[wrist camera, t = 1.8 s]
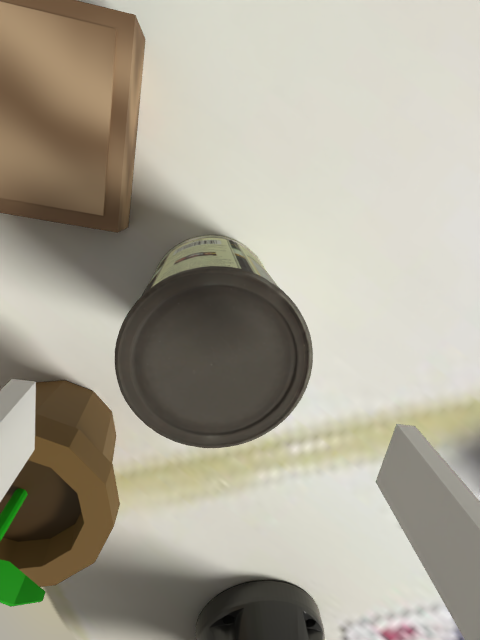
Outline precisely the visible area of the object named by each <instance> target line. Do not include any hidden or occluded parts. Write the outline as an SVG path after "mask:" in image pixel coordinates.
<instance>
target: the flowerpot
mask: <svg viewBox="0 0 480 640" xmlns="http://www.w3.org/2000/svg"><path fill="white" fill-rule="evenodd" d="M115 440H116V432H115V426H114V420H113V415H112V411H111V410H110V409H109V408H108V407H107V406H106V405H105V404H104V402H103V401H102V400H101V399H100V398H99V397H98V396H97V395H96V394H95V392H94V391H91V390H89V389H86V388H84V387H81V386H79V385H76V384H73V383H71V382H68V381H66V380H61V381H48V382H36V402H35V450H34V451H33V453H32V454H31V456H30V457H29V459H28V460H27V462H26V463H25V465H24V467H23V468H22V470H21V471H20V473H19V474H18V476H17V477H16V479H15V480H14V482H13V483H12V485H11V486H10V488H9V490H8V491H7V493H6V494H5V496H4V497H3V499H2V500H1V502H0V602H1V603H3V604H6V605H8V606H17V605H23V604H30V603H35V602H41V601H42V600H43V598H44V595H45V591H44V590H43V589H42V588H40V587H43V586H52V585H56V584H58V583H60V582H62V581H63V580H65V579H67V578H68V577H70V576H72V575H74V574H75V573H77V572H79V571H81V570H82V569H84V568H86V567H88V566H89V565H91V564H93V563H94V562H95V561H96V559H97V557H98V555H99V553H100V551H101V550H102V548H103V546H104V544H105V542H106V540H107V538H108V536H109V534H110V532H111V531H112V529H113V527H114V524H115V520H116V516H117V513H118V509H119V505H120V502H119V497H118V492H117V486H116V481H115V475H114V470H113V464H112V460H113V454H114V447H115Z"/></svg>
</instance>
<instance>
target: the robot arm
mask: <svg viewBox="0 0 480 640" xmlns="http://www.w3.org/2000/svg"><path fill="white" fill-rule="evenodd" d="M35 402H36V382H35V381H26V380H18V379H11V380H10V381H9V382H8V383H7V384H6V385H5V386H4V387H3V388H2V389H1V390H0V502H1V500H2V499H3V497H4V496H5V494H6V493H7V491H8V490H9V488H10V486H11V485H12V483H13V482H14V480H15V479H16V477H17V476H18V474H19V473H20V471H21V470H22V468H23V467H24V465H25V463H26V462H27V460H28V459H29V457H30V456H31V454H32V453H33V451H34V450H35ZM376 483H377V485H378V487H379V488H380V490H381V492H382V494H383V496H384V497H385V499H386V501H387V503H388V504H389V506H390V508H391V510H392V511H393V513H394V515H395V517H396V519H397V520H398V522H399V524H400V526H401V527H402V529H403V531H404V533H405V534H406V536H407V538H408V540H409V542H410V543H411V545H412V547H413V549H414V550H415V552H416V554H417V556H418V557H419V559H420V561H421V563H422V565H423V566H424V568H425V570H426V572H427V573H428V575H429V577H430V579H431V580H432V582H433V584H434V586H435V588H436V589H437V591H438V593H439V595H440V596H441V598H442V600H443V602H444V603H445V605H446V607H447V609H448V611H449V612H450V614H451V616H452V618H453V619H454V621H455V623H456V625H457V626H458V628H459V630H460V632H461V634H462V635H463V637H464V639H465V640H480V501H479V500H478V499H477V498H476V497H475V495H474V494H473V493H472V492H471V491H470V490H469V488H468V487H467V486H466V485H465V484H464V483H463V481H462V480H461V479H460V478H459V477H458V476H457V474H456V473H455V472H454V471H453V470H452V469H451V467H450V466H449V465H448V464H447V463H446V462H445V460H444V459H443V458H442V457H441V456H440V455H439V453H438V452H437V451H436V450H435V449H434V448H433V446H432V445H431V444H430V443H429V442H428V441H427V439H426V438H425V437H424V436H423V435H422V434H421V432H420V431H419V430H418V429H417V428H416V427H415V426H410V425H401V424H396V427H395V430H394V433H393V435H392V438H391V441H390V444H389V446H388V449H387V452H386V455H385V458H384V460H383V463H382V466H381V469H380V471H379V474H378V477H377V480H376ZM196 640H325V637H324V628H323V624H322V620H321V617H320V613H319V609H318V607H317V605H316V603H315V601H314V600H313V599H312V597H311V596H310V595H309V594H307V593H306V592H305V591H303V590H302V589H300V588H298V587H296V586H293V585H291V584H287V583H283V582H277V581H255V582H249V583H245V584H241V585H238V586H235V587H232V588H230V589H228V590H226V591H224V592H222V593H221V594H219V595H218V596H216V597H215V598H214V599H212V600H211V601H210V602H209V603H208V604H207V605H206V606H205V608H204V609H203V610H202V612H201V614H200V616H199V618H198V620H197V624H196Z"/></svg>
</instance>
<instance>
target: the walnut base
mask: <svg viewBox="0 0 480 640" xmlns="http://www.w3.org/2000/svg"><path fill="white" fill-rule="evenodd" d="M144 48H145V37H144V35H143V32H142V30H141V27H140V25H139V23H138V20H137V18H136V15H133V14H129V13H125V12H121V11H117V10H113V9H109V8H105V7H101V6H97V5H93V4H88V3H84V2H80V1H76V0H0V213H5V214H11V215H17V216H23V217H28V218H34V219H40V220H46V221H52V222H58V223H64V224H69V225H75V226H81V227H87V228H93V229H99V230H105V231H111V232H116V233H118V232H120V231H122V230H124V229H126V228H128V225H129V214H130V203H131V192H132V181H133V170H134V159H135V148H136V137H137V126H138V115H139V104H140V93H141V81H142V70H143V59H144Z"/></svg>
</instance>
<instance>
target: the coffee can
mask: <svg viewBox="0 0 480 640" xmlns="http://www.w3.org/2000/svg"><path fill="white" fill-rule="evenodd" d="M312 363H313V351H312V342H311V337H310V333H309V330H308V327H307V325H306V322H305V320H304V318H303V316H302V315H301V313H300V311H299V309H298V308H297V307H296V305H295V304H294V303H293V301H292V300H291V299H290V298H289V297H288V296H287V295H286V294H285V293H284V292H283V291H282V290H281V289H280V288H279V287H278V286H277V285H276V283H275V282H274V281H273V279H272V278H271V276H270V275H269V274H268V273H267V271H266V270H265V268H264V266H263V265H262V263H261V262H260V260H259V259H258V257H257V256H256V255H255V254H254V253H253V252H252V251H251V250H250V249H249V248H247V247H246V246H245V245H243V244H242V243H240V242H238V241H236V240H233V239H231V238H227V237H224V236H217V235H206V236H199V237H195V238H191V239H189V240H186V241H184V242H182V243H180V244H178V245H177V246H175V247H174V248H173V249H171V250H170V251H169V252H168V253H167V254H166V255H165V257H164V258H163V259H162V260H161V262H160V263H159V265H158V267H157V269H156V271H155V274H154V276H153V278H152V279H151V281H150V283H149V284H148V286H147V288H146V289H145V291H144V293H143V294H142V296H141V298H140V299H139V300H138V301H137V302H136V303H135V305H134V306H133V307H132V309H131V310H130V311H129V313H128V314H127V316H126V318H125V320H124V322H123V324H122V326H121V329H120V331H119V335H118V338H117V342H116V348H115V370H116V375H117V380H118V384H119V387H120V390H121V392H122V394H123V396H124V398H125V400H126V402H127V404H128V405H129V407H130V408H131V409H132V410H133V412H134V413H135V414H136V415H137V416H138V417H139V418H140V419H141V420H142V421H143V422H144V423H145V424H146V425H147V426H148V427H150V428H151V429H153V430H154V431H155V432H157V433H158V434H160V435H162V436H164V437H166V438H168V439H170V440H173V441H175V442H178V443H181V444H185V445H189V446H195V447H202V448H222V447H230V446H235V445H239V444H243V443H246V442H249V441H252V440H254V439H256V438H258V437H260V436H262V435H264V434H266V433H267V432H269V431H271V430H272V429H274V428H275V427H276V426H278V425H279V424H280V423H281V422H282V421H283V420H285V419H286V418H287V417H288V416H289V415H290V413H291V412H292V411H293V410H294V408H295V407H296V406H297V404H298V403H299V401H300V400H301V398H302V396H303V394H304V392H305V390H306V388H307V385H308V382H309V379H310V375H311V369H312Z"/></svg>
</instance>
